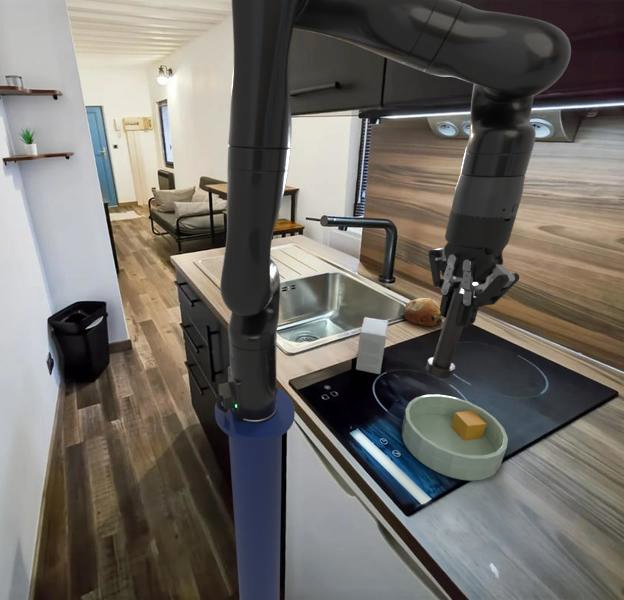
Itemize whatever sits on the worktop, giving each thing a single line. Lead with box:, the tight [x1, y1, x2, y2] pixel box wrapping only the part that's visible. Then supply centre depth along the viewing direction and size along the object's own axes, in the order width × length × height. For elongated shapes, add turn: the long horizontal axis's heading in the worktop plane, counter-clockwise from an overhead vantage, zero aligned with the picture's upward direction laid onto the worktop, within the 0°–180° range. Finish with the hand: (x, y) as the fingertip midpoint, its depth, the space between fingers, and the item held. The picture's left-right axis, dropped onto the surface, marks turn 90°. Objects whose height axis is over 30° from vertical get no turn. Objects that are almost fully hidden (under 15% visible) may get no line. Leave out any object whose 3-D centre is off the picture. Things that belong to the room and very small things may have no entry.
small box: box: [355, 316, 389, 375], centre depth 87 cm, size 8×6×10 cm
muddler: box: [425, 287, 464, 379], centre depth 58 cm, size 4×4×14 cm
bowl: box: [401, 394, 509, 482], centre depth 65 cm, size 15×15×5 cm
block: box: [451, 410, 486, 440], centre depth 66 cm, size 4×4×4 cm
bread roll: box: [403, 297, 445, 327], centre depth 107 cm, size 10×10×8 cm
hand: (455, 320), depth 57 cm, fingers closed on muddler, 2 cm apart
